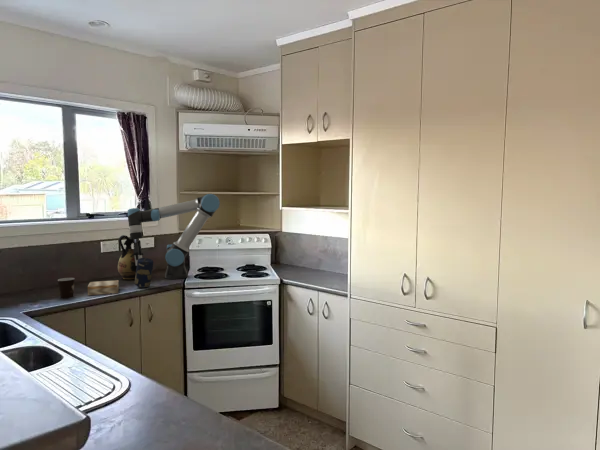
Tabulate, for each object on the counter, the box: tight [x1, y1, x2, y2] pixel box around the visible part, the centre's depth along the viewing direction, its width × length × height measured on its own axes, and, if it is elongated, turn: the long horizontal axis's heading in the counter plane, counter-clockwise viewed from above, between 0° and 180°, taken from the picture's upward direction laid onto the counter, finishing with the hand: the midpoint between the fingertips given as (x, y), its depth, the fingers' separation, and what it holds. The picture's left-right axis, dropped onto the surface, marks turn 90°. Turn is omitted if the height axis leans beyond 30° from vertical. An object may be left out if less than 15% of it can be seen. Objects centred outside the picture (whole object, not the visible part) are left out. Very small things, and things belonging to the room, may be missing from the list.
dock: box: [87, 279, 120, 296], centre depth 267 cm, size 16×14×5 cm
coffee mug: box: [57, 277, 75, 299], centre depth 257 cm, size 12×9×10 cm
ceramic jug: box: [117, 234, 137, 280], centre depth 306 cm, size 17×15×30 cm
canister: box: [134, 257, 154, 288], centre depth 278 cm, size 10×10×18 cm
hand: (139, 265), depth 287 cm, fingers open, 13 cm apart
